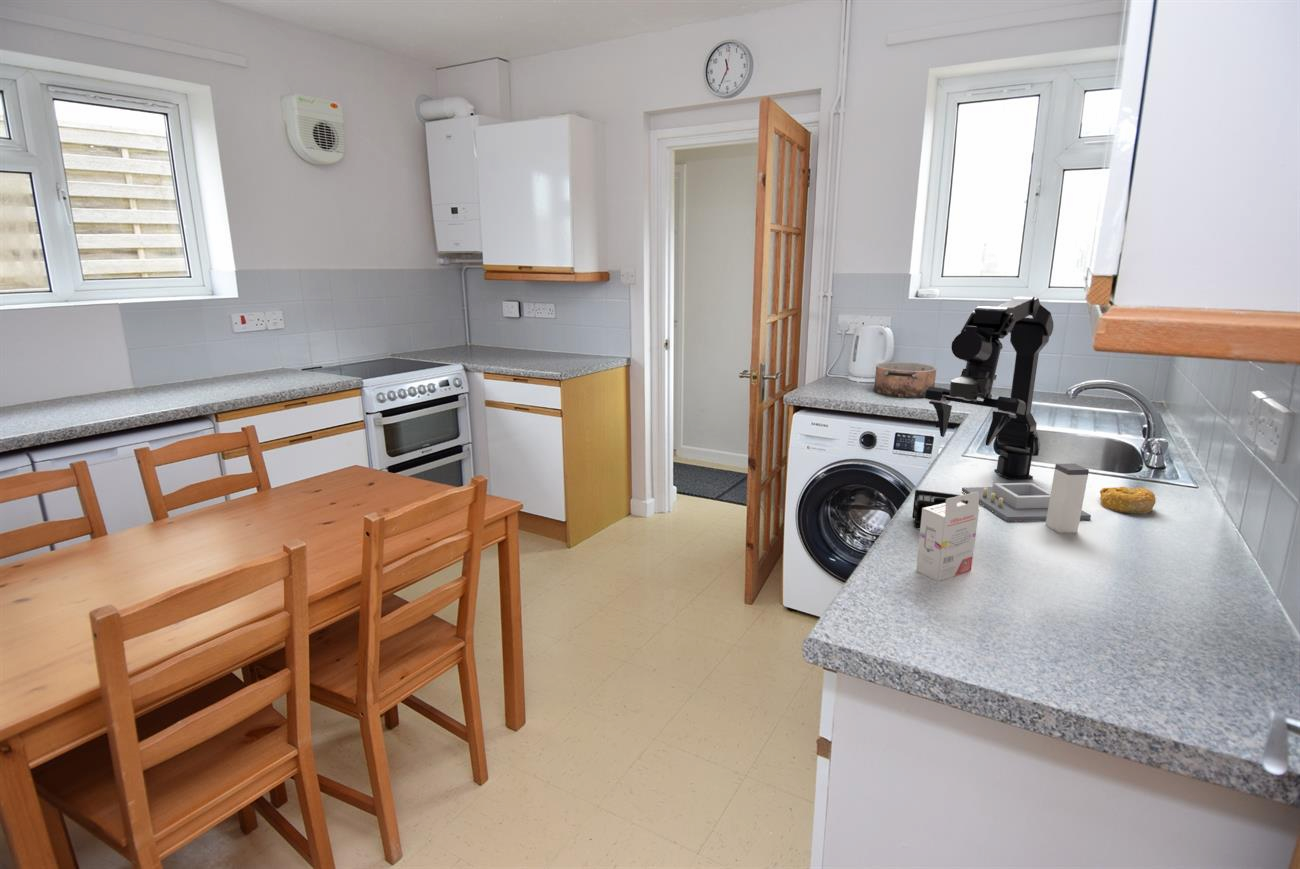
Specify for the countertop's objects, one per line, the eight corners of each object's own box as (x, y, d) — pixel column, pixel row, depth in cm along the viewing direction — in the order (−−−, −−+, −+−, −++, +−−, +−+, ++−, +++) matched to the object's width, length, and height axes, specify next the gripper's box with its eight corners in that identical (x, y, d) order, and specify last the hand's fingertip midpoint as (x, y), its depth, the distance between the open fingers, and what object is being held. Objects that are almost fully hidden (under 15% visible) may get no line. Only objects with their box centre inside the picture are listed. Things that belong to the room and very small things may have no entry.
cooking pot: (927, 403, 249) (930, 374, 247) (866, 396, 260) (868, 369, 257) (938, 389, 275) (941, 363, 272) (882, 384, 285) (884, 359, 282)
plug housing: (1064, 524, 137) (1075, 463, 133) (1077, 532, 133) (1088, 469, 129) (1045, 524, 136) (1055, 463, 133) (1058, 532, 132) (1069, 470, 129)
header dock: (1036, 490, 156) (1038, 476, 155) (1090, 519, 139) (1093, 503, 138) (961, 491, 155) (963, 477, 154) (1006, 521, 138) (1008, 505, 137)
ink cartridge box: (947, 560, 120) (957, 482, 116) (971, 571, 116) (983, 491, 112) (913, 570, 116) (923, 490, 113) (937, 582, 112) (947, 499, 108)
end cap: (964, 522, 137) (968, 491, 136) (965, 535, 131) (970, 503, 129) (912, 515, 141) (915, 485, 139) (911, 528, 135) (914, 496, 133)
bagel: (1130, 498, 152) (1134, 478, 150) (1165, 517, 141) (1170, 496, 140) (1086, 498, 152) (1089, 478, 151) (1117, 517, 141) (1121, 496, 140)
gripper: (921, 356, 139) (904, 429, 141) (1017, 367, 126) (998, 448, 128) (941, 364, 147) (926, 433, 148) (1034, 374, 134) (1016, 451, 135)
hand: (964, 440), depth 140 cm, fingers open, 9 cm apart
